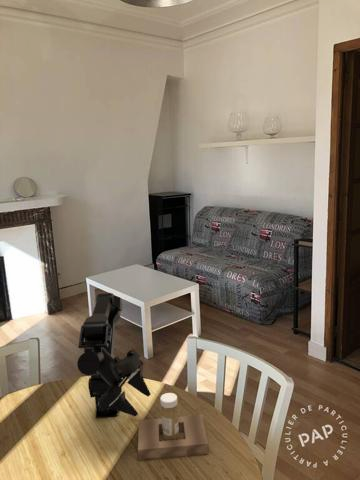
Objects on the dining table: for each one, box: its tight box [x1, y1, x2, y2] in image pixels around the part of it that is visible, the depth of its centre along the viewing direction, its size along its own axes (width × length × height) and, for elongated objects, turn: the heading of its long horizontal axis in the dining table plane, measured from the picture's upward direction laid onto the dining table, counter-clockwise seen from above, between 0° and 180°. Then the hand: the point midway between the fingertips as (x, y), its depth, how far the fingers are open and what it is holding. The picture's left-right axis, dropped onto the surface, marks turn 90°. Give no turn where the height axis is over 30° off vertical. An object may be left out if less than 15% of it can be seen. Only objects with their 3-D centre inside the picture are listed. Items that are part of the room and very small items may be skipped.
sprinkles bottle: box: [159, 392, 181, 441], centre depth 112 cm, size 5×5×14 cm
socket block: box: [137, 414, 209, 461], centre depth 113 cm, size 18×12×3 cm, turn 94°
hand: (143, 405), depth 114 cm, fingers open, 9 cm apart
